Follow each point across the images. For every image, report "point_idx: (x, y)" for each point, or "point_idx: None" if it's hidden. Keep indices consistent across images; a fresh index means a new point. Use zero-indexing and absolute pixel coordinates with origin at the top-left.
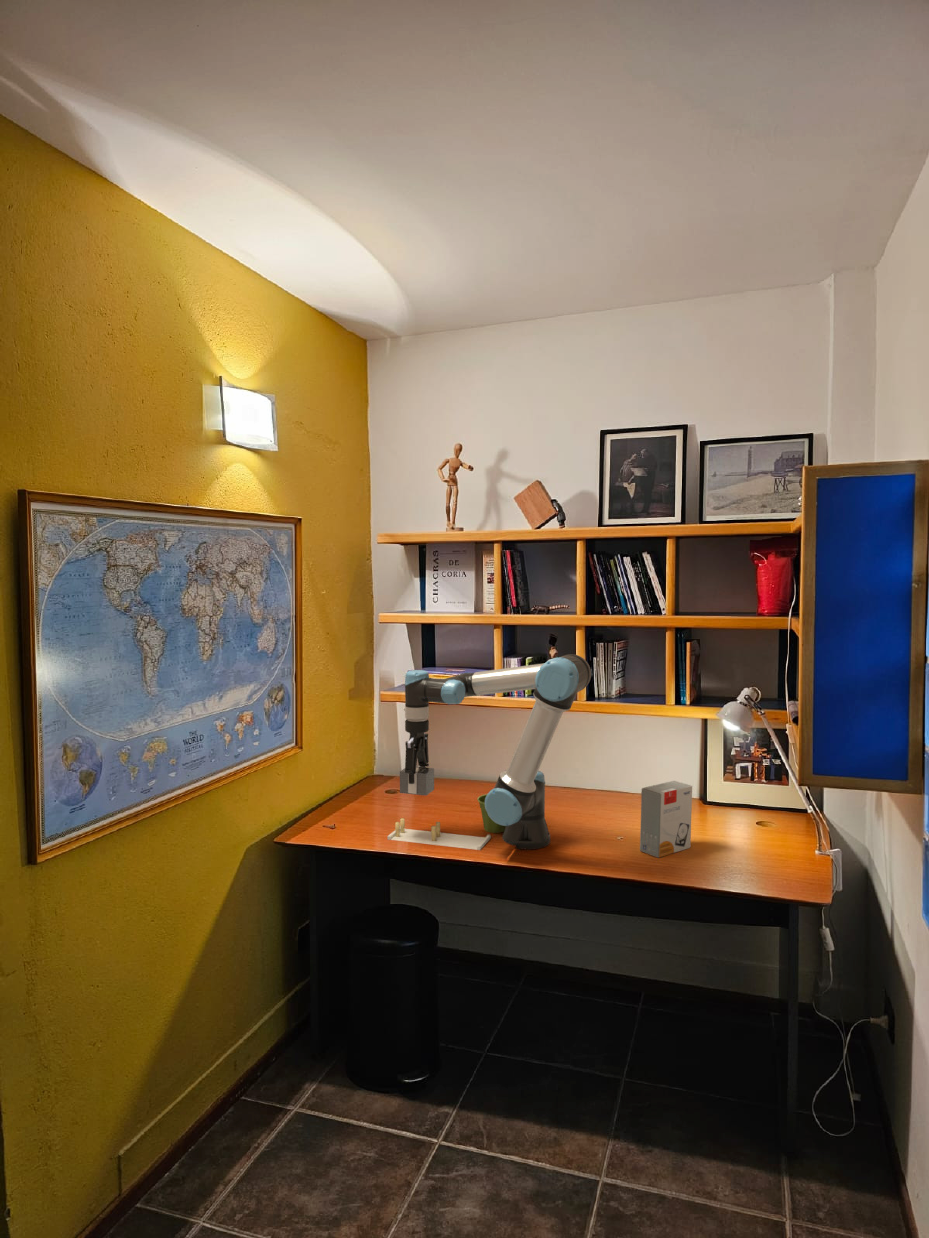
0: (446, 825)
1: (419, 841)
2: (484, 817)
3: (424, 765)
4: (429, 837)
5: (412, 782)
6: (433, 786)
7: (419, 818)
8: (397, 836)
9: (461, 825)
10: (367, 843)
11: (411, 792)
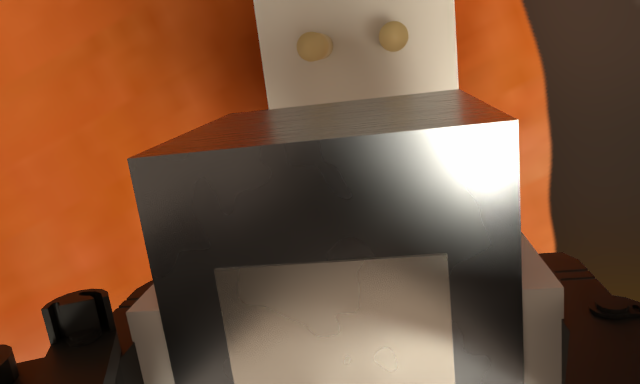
0: (113, 106)
1: None
2: None
3: (121, 344)
4: (358, 82)
5: (580, 263)
6: (238, 116)
7: (94, 276)
8: None
9: (73, 29)
10: None
11: None
